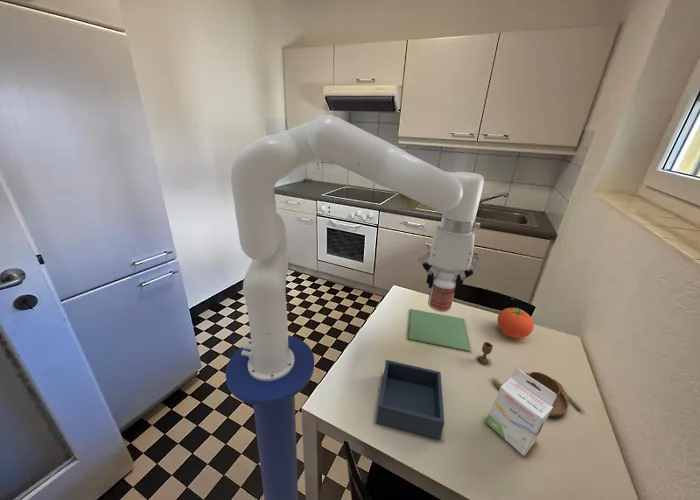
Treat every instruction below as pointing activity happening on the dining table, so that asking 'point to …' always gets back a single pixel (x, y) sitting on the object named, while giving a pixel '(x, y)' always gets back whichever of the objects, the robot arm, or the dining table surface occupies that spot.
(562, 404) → the place setting
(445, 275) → the pill bottle
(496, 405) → the ink box
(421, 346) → the dining table surface
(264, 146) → the robot arm
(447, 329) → the mat
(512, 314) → the tomato
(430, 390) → the blue open box
